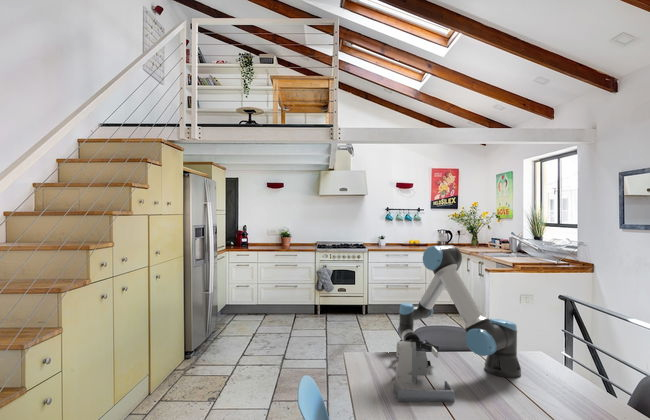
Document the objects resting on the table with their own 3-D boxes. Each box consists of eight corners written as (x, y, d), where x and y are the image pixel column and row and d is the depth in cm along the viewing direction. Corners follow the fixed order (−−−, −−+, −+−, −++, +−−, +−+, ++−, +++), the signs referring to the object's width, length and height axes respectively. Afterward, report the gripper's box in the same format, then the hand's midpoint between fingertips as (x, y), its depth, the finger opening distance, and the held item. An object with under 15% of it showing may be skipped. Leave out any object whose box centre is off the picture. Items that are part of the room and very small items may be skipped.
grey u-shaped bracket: (446, 390, 151) (446, 380, 151) (454, 402, 142) (454, 391, 142) (392, 390, 151) (392, 380, 151) (397, 401, 142) (397, 391, 142)
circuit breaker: (430, 385, 156) (431, 349, 156) (396, 382, 159) (396, 346, 159) (429, 378, 163) (429, 343, 164) (396, 374, 166) (396, 340, 166)
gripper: (434, 346, 193) (449, 363, 172) (386, 346, 193) (395, 362, 171) (434, 332, 193) (449, 346, 172) (386, 331, 193) (395, 346, 171)
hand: (422, 354), depth 172 cm, fingers open, 13 cm apart
